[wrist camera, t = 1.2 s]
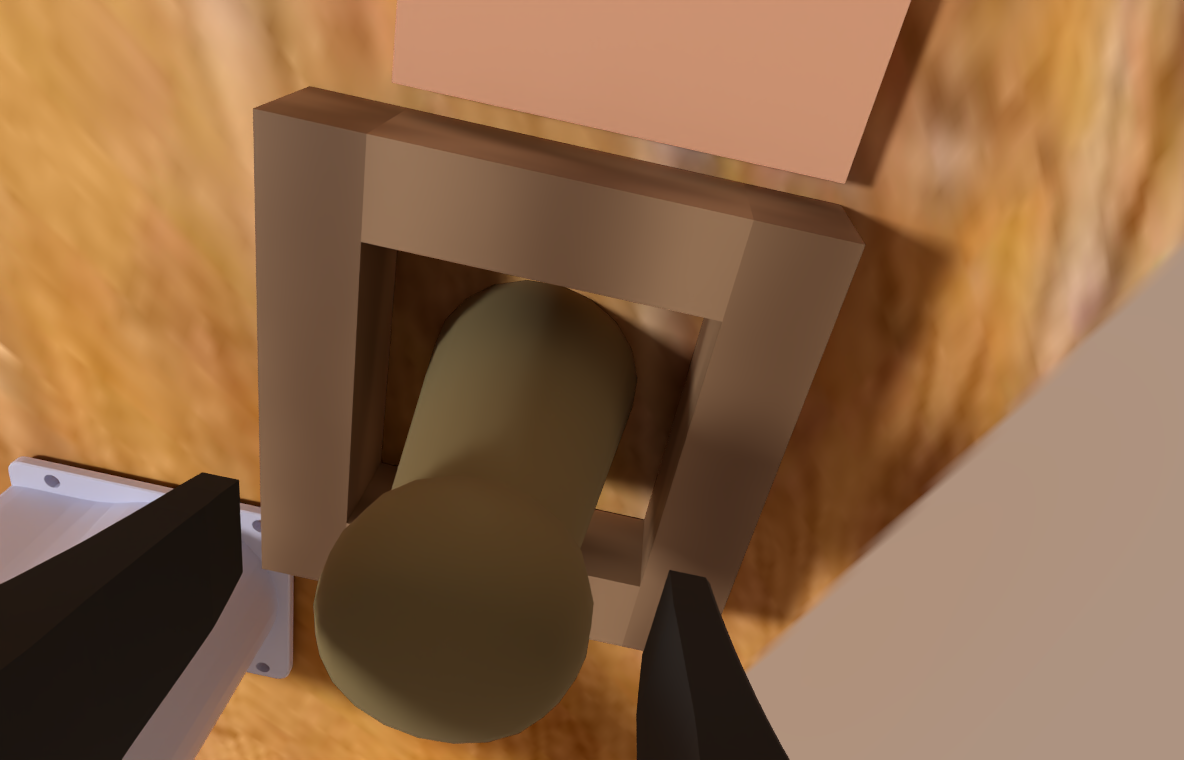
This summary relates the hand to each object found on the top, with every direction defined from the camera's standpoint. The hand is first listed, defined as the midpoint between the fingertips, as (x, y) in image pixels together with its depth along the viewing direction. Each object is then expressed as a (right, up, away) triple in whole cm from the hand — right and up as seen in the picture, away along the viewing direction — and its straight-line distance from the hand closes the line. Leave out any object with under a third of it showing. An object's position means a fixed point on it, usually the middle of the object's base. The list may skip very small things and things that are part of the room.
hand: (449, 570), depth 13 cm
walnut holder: (+1, +3, +10) cm, 10 cm away
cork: (+1, +3, +10) cm, 11 cm away
